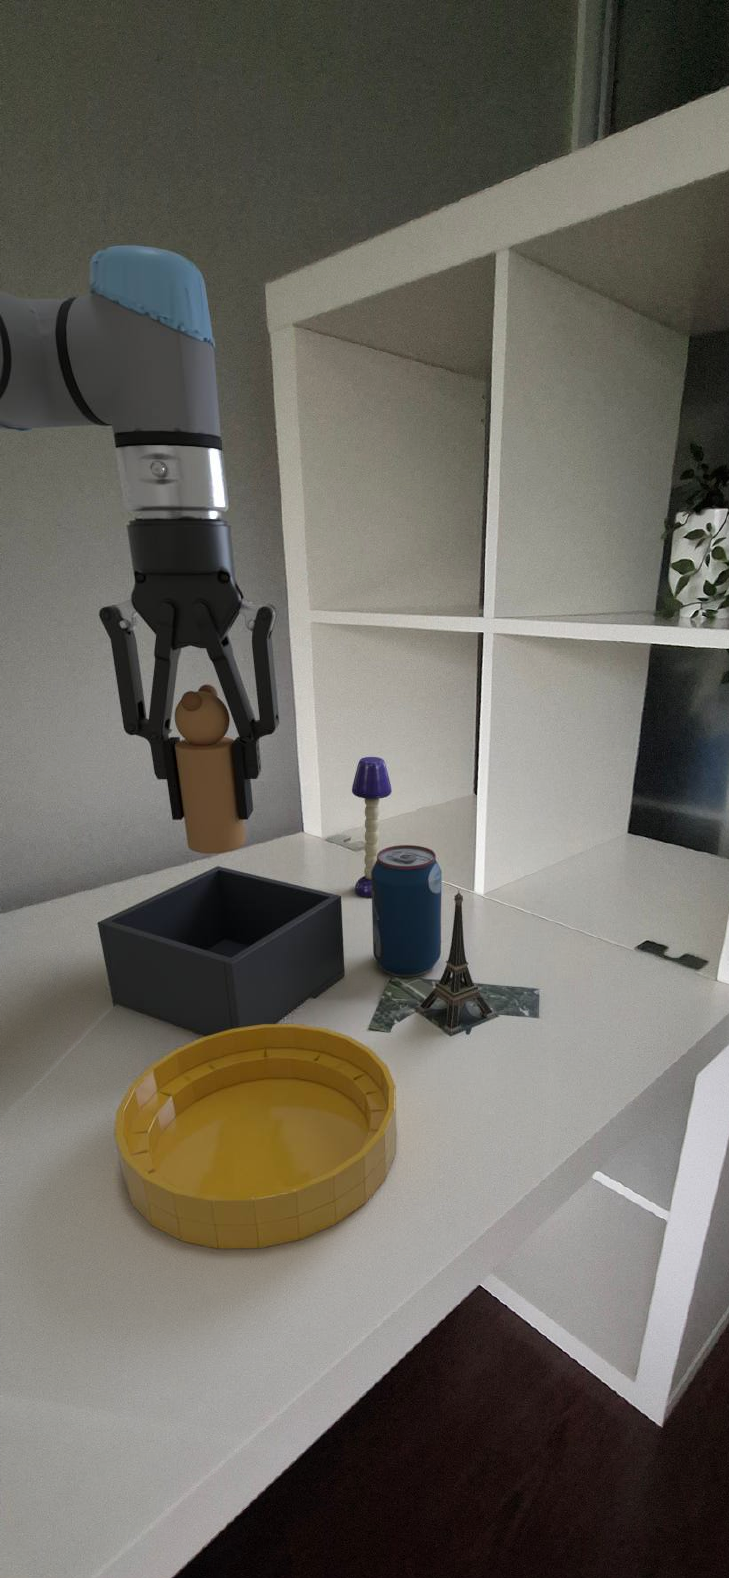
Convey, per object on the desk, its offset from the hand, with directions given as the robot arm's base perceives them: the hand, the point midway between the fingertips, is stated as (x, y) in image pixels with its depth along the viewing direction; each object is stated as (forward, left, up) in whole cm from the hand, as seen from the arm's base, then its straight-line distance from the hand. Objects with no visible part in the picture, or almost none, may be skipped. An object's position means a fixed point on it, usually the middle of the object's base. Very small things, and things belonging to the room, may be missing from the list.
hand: (213, 814), depth 70 cm
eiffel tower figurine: (+21, +7, -18) cm, 28 cm away
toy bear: (0, 0, -3) cm, 3 cm away
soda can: (+12, +13, -18) cm, 25 cm away
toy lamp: (-1, +27, -18) cm, 33 cm away
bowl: (+17, -16, -18) cm, 29 cm away
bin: (0, 0, -18) cm, 18 cm away
